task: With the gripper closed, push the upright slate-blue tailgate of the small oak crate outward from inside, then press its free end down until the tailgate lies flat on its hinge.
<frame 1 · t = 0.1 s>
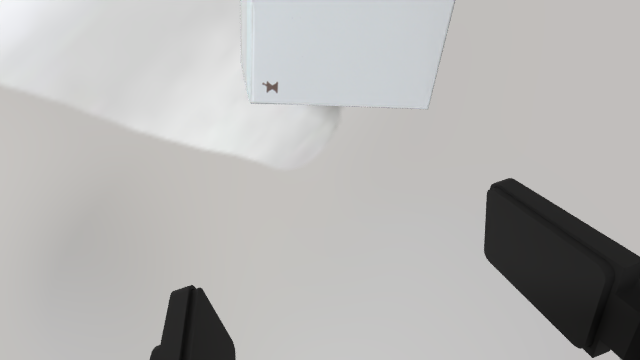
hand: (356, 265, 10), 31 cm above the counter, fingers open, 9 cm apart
supplement box: (303, 2, 35), on the counter
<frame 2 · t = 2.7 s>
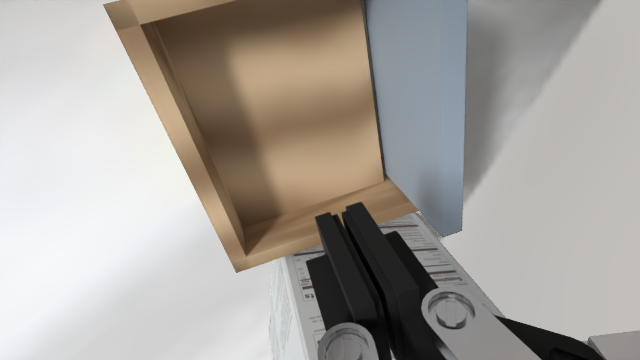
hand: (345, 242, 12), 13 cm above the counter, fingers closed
tailgate: (415, 102, 19), point 5 cm above the counter, hinge at 0.0°
crate: (294, 106, 23), on the counter
supplement box: (338, 270, 32), on the counter
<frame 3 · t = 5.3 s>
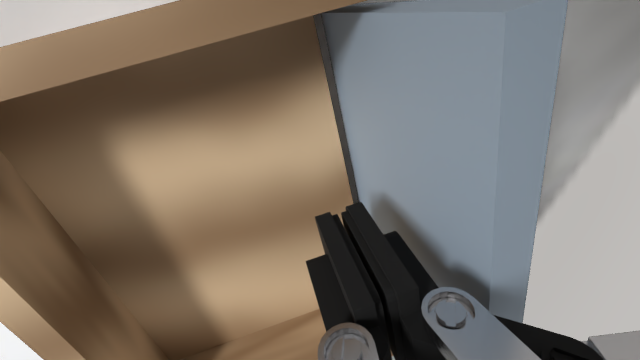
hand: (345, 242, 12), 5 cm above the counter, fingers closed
tailgate: (421, 212, 12), point 5 cm above the counter, hinge at 6.2°, touching gripper
crate: (236, 197, 16), on the counter
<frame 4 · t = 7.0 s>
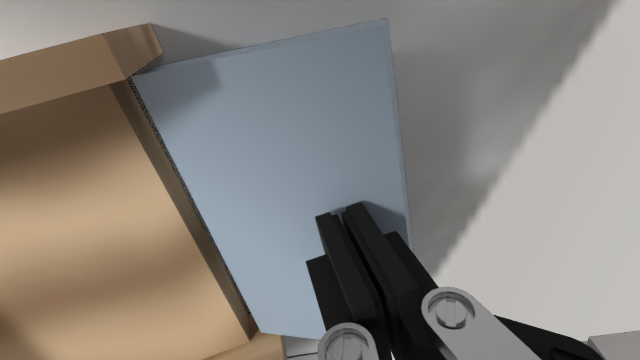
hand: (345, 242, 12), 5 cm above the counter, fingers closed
tailgate: (305, 222, 13), point 3 cm above the counter, hinge at 60.8°, touching gripper
crate: (88, 253, 15), on the counter
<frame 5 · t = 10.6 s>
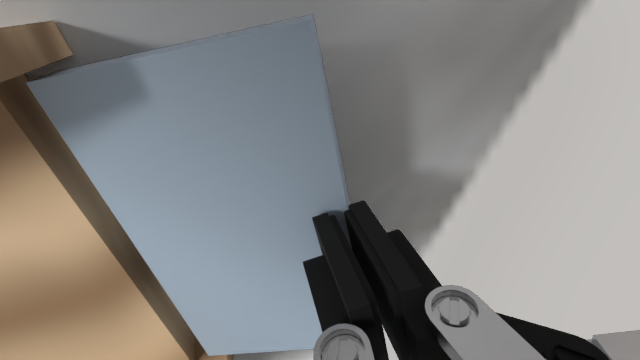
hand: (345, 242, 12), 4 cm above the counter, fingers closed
tailgate: (247, 230, 13), point 2 cm above the counter, hinge at 72.1°, touching gripper
crate: (5, 275, 13), on the counter
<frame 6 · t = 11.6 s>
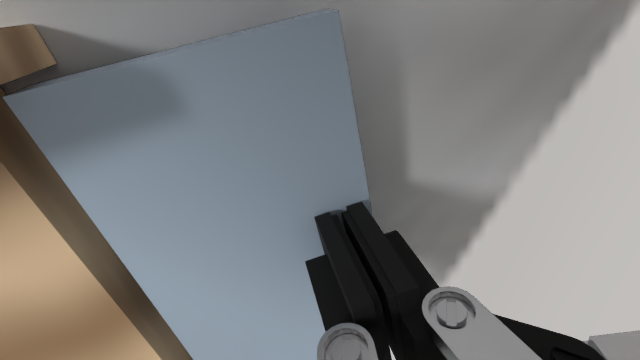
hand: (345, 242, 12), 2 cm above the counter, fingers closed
tailgate: (260, 241, 12), point 1 cm above the counter, hinge at 86.2°, touching gripper
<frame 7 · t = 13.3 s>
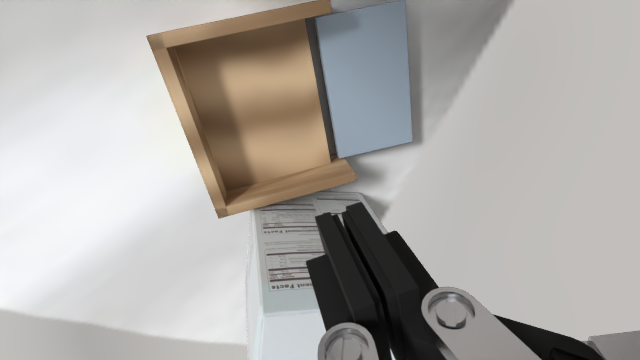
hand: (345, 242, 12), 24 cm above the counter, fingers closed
tailgate: (366, 84, 33), point 1 cm above the counter, hinge at 86.3°
crate: (265, 105, 32), on the counter
supplement box: (301, 237, 41), on the counter
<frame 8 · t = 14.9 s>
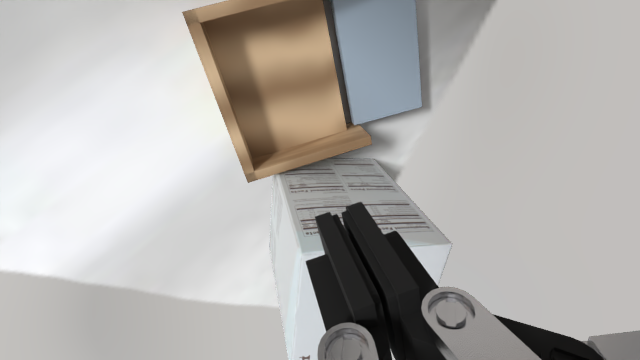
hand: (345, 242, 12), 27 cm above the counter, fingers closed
tailgate: (378, 54, 35), point 1 cm above the counter, hinge at 86.3°
crate: (285, 77, 35), on the counter
supplement box: (319, 202, 44), on the counter
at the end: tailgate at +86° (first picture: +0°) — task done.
